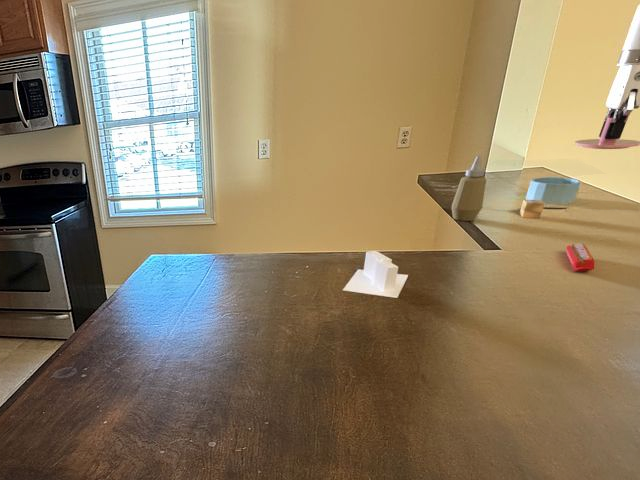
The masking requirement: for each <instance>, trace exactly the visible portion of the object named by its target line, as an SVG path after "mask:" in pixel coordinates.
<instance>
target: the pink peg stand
mask: <svg viewBox="0 0 640 480" xmlns="http://www.w3.org/2000/svg"><path fill="white" fill-rule="evenodd" d="M612 120H613V117H608V118H607V120H606V123H605V126H604V129H603V131H602V134H601V137H599V138H591V139H590V138H589V139H580V140H579V139H578V140H576V141H574V143H573V144H574V146H578V147H583V148H585V149H595V150H622V149H629V148H633V147H639V146H640V141H639V140H635V139H624V138H623V139H622V138H619V139H605V135H606V132H607V129H608V127H609V124H610V123H611V122H612Z"/></svg>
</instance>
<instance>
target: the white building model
mask: <svg viewBox="0 0 640 480" xmlns="http://www.w3.org/2000/svg"><path fill="white" fill-rule="evenodd" d="M392 261H393V259H392V258H390V257H388V256H386V255H385V254H383V253H381V252H379V251H378V250H370V251H366V252H365V256H364V264H363V269H362V268H361V269H357V270H356V272H355V273H354V274H353V275H352V277H351V278H350V279H349V281H348V282H347V283H346V284H345V286H344V287H343V289H342V291H345V292H352V293H360V294H365V295H373V296H379V297H388V298H395V299H398V298H399V295H400V294H401V292H402V290H403V287H404V285H405V283H406V282H407V279H408V277H409V274H401V273H398V271H399V266H398V265H396V264H394V262H392Z"/></svg>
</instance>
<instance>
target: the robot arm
mask: <svg viewBox="0 0 640 480" xmlns="http://www.w3.org/2000/svg"><path fill="white" fill-rule="evenodd" d="M616 67H619V68H618V71H617V73H616V75H615V77H614V79H613V81H612V82H613V83H612V84H611V87H610V91H609V93H608V96H607V99H606V101H605V102H606V103H605V107H607V112H606V115H605V117H604V121H603V123H602V126H601V129H600V132H599V134H598V137H599V138H600V137H601V134H602V131H603V129H604V126H605V123H606V120H607V118H608V117H613V120H612V122H611V123H610V124H609V127H608V129H607V132H606V135H605V139H621V137H622V135H623V132H624V129H625V126H626V124H627V122H628V119H629V116H630V115H631V113H632V112H633V110H635V109H636V110H637V109H639V108H640V3H639V4H638V5H637V7H636V10H635V13H634V16H633V18H632V21H631V24H630V25H629V29H628V32H627V35H626V38H625V41H624V44H623V46H622V49H621V53H620V55H619V58H618V61H617V63H616Z"/></svg>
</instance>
